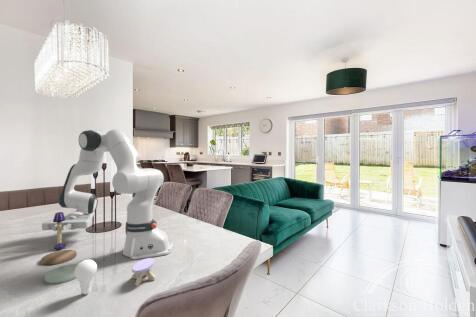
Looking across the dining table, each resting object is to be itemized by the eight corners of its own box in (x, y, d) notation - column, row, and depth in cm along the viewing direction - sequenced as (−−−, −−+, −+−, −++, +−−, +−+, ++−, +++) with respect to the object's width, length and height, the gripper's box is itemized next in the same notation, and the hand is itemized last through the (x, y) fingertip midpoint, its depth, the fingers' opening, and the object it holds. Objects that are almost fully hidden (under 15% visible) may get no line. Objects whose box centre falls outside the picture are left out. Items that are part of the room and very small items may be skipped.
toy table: (142, 289, 75) (143, 272, 75) (122, 283, 78) (123, 267, 78) (162, 275, 84) (162, 260, 84) (143, 270, 88) (143, 256, 88)
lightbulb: (77, 302, 68) (77, 267, 68) (72, 294, 72) (72, 260, 72) (99, 293, 72) (99, 260, 72) (93, 286, 77) (94, 254, 76)
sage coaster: (90, 265, 91) (90, 262, 91) (74, 282, 79) (75, 278, 79) (57, 268, 88) (57, 265, 88) (36, 285, 76) (36, 281, 76)
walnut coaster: (81, 251, 103) (81, 249, 103) (67, 263, 92) (67, 261, 92) (52, 253, 101) (52, 250, 101) (33, 266, 89) (33, 263, 89)
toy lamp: (50, 248, 105) (50, 213, 104) (61, 244, 109) (61, 210, 109) (57, 249, 103) (57, 214, 103) (68, 246, 107) (68, 211, 107)
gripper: (51, 215, 117) (32, 223, 103) (94, 213, 120) (81, 221, 107) (51, 227, 117) (32, 237, 103) (94, 225, 120) (81, 234, 107)
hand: (58, 229), depth 105 cm, fingers closed on toy lamp
